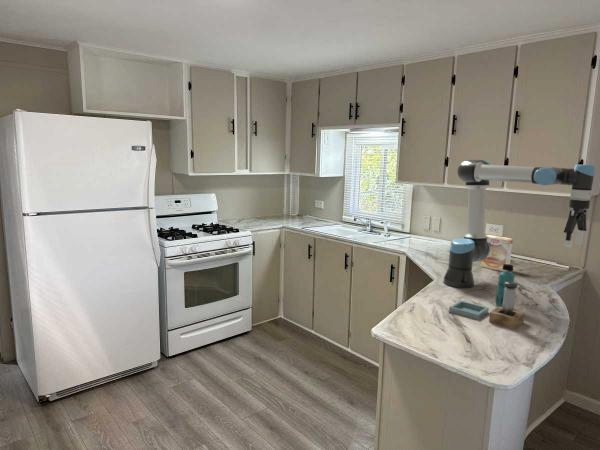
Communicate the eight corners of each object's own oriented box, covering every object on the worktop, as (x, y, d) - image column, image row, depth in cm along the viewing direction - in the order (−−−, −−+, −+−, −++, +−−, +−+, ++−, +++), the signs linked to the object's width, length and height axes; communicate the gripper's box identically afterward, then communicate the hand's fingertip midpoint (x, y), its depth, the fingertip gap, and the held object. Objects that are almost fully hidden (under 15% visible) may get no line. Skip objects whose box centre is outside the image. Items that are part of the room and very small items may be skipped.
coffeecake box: (479, 266, 263) (483, 235, 260) (485, 264, 267) (488, 234, 264) (504, 272, 252) (508, 239, 249) (509, 270, 256) (513, 238, 253)
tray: (448, 313, 180) (449, 307, 179) (460, 307, 189) (460, 300, 188) (477, 321, 172) (478, 314, 171) (487, 314, 181) (488, 307, 180)
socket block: (488, 324, 170) (489, 312, 169) (497, 317, 177) (498, 306, 177) (515, 331, 163) (517, 319, 163) (523, 324, 171) (524, 312, 170)
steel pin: (497, 321, 170) (502, 282, 167) (501, 318, 174) (506, 280, 171) (510, 325, 167) (515, 285, 164) (514, 322, 170) (519, 283, 168)
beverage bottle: (497, 304, 194) (501, 261, 190) (512, 308, 189) (518, 264, 186) (492, 308, 188) (497, 264, 185) (509, 312, 184) (514, 267, 181)
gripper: (579, 201, 179) (572, 250, 183) (598, 199, 195) (591, 244, 199) (560, 199, 185) (553, 247, 188) (580, 197, 201) (573, 241, 204)
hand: (573, 246), depth 193 cm, fingers open, 13 cm apart
